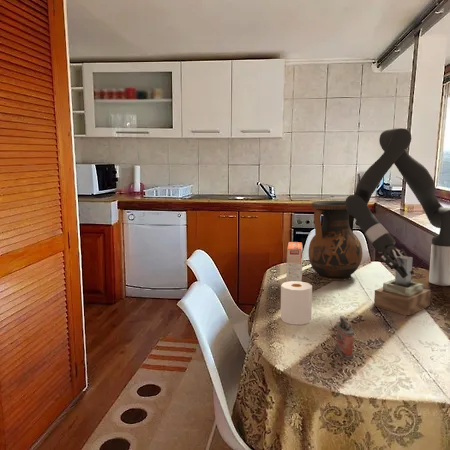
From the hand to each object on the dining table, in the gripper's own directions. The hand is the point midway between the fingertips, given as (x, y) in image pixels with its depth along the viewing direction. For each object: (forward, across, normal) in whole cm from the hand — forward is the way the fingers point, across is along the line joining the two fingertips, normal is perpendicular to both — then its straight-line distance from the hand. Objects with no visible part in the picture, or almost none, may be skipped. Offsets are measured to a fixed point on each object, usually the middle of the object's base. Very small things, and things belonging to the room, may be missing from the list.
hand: (408, 275), depth 146 cm
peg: (+2, 0, +5) cm, 5 cm away
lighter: (+13, -48, +4) cm, 50 cm away
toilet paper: (-4, -40, +22) cm, 46 cm away
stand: (+7, 0, +10) cm, 12 cm away
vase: (-21, +14, +39) cm, 46 cm away
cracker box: (-16, -22, +34) cm, 43 cm away
